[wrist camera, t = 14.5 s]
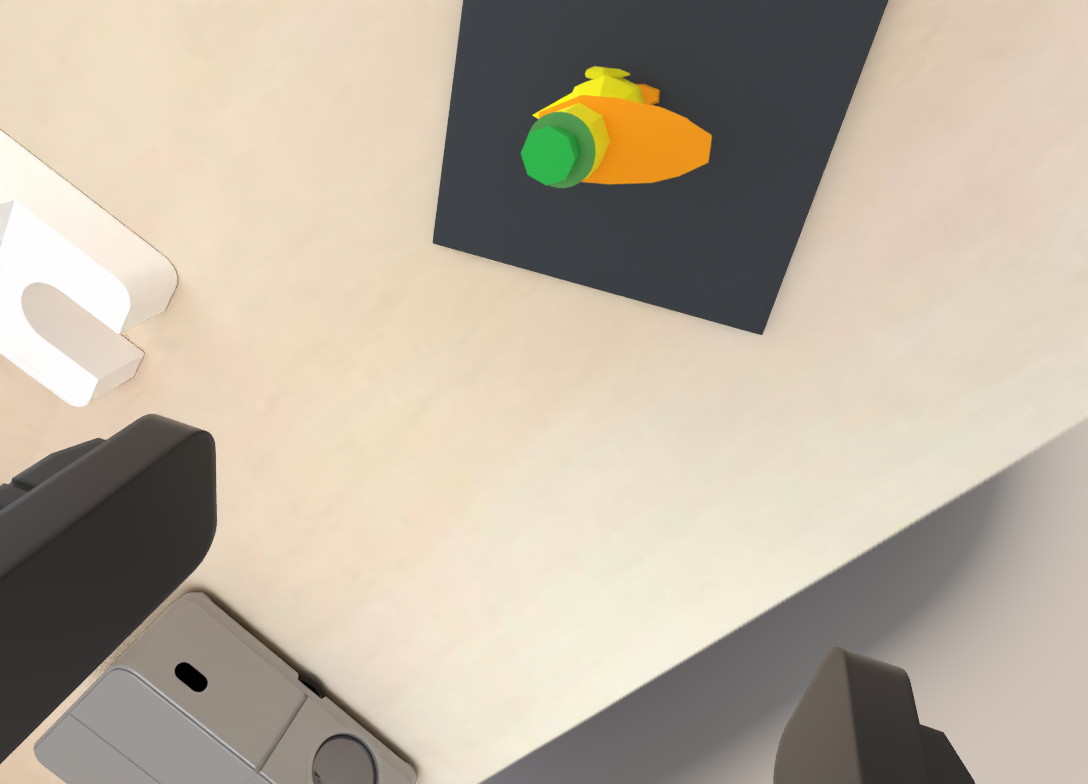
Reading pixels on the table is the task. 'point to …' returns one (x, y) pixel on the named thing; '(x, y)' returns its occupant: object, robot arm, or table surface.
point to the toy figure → (612, 136)
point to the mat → (686, 89)
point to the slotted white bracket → (70, 282)
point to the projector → (210, 715)
